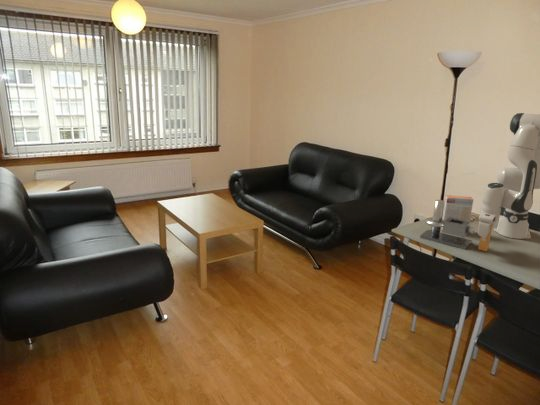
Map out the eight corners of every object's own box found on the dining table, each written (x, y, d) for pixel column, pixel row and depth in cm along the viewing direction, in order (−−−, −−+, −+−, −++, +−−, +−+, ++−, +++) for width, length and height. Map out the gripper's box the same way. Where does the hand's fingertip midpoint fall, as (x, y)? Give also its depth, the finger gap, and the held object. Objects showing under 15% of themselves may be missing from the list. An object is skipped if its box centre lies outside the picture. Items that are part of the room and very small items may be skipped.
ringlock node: (427, 231, 230) (432, 196, 224) (473, 243, 215) (480, 205, 208) (420, 237, 221) (425, 201, 215) (467, 250, 206) (474, 211, 200)
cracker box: (465, 230, 234) (471, 196, 228) (467, 233, 228) (474, 199, 222) (440, 227, 237) (445, 194, 231) (442, 231, 232) (447, 197, 225)
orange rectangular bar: (479, 247, 209) (484, 222, 205) (487, 249, 207) (492, 224, 202) (478, 249, 207) (482, 224, 203) (486, 251, 204) (491, 226, 200)
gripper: (487, 208, 210) (483, 232, 215) (478, 217, 195) (473, 243, 200) (501, 211, 207) (496, 235, 211) (492, 220, 192) (486, 247, 196)
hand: (484, 239), depth 205 cm, fingers closed on orange rectangular bar, 3 cm apart
